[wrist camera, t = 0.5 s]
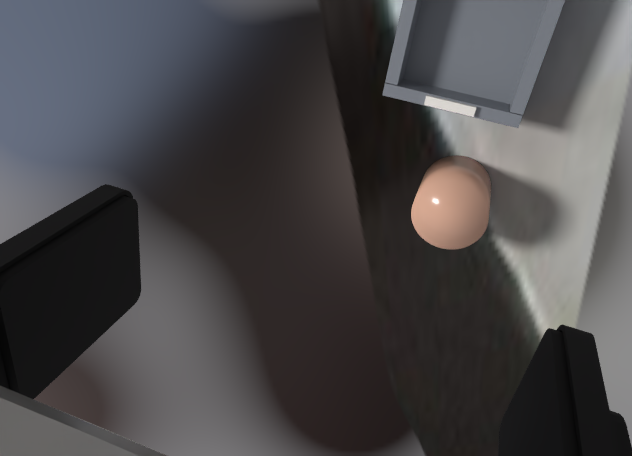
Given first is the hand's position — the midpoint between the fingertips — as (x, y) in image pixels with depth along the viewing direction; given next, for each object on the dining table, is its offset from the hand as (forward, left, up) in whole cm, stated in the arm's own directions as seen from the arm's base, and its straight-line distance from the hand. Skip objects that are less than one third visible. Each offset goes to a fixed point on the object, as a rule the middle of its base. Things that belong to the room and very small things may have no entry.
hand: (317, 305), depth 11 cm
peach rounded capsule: (+8, +3, -28) cm, 29 cm away
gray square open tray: (-2, +1, -28) cm, 28 cm away
